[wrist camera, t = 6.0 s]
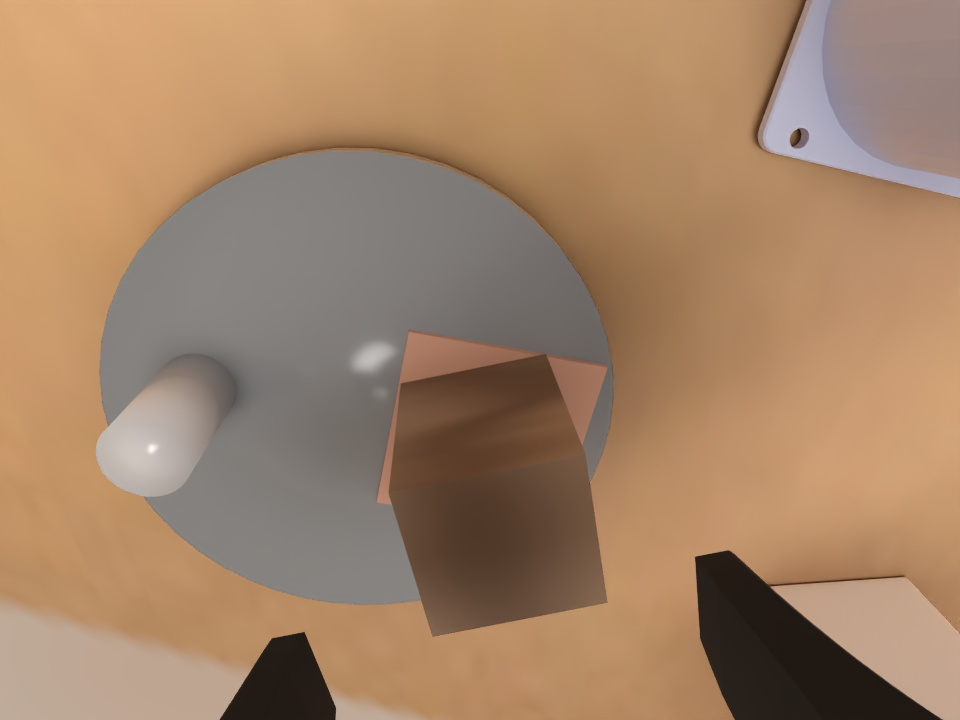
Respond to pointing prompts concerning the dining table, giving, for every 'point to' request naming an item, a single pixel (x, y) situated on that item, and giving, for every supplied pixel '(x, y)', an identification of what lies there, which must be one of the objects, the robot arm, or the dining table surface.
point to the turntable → (325, 355)
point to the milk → (889, 635)
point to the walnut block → (494, 497)
